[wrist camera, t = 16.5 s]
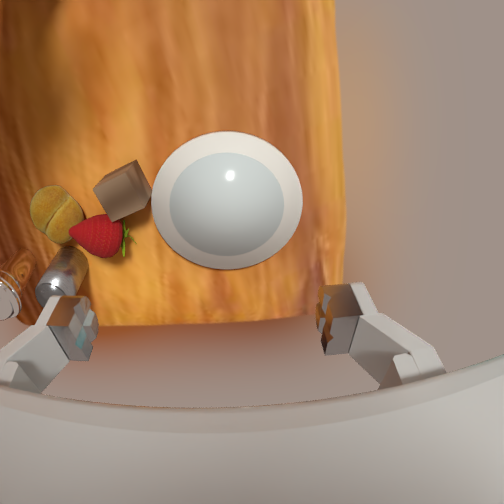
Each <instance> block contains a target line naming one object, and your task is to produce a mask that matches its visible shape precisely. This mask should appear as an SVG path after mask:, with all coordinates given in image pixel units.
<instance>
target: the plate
mask: <svg viewBox="0 0 504 504" xmlns="http://www.w3.org/2000/svg"><path fill="white" fill-rule="evenodd" d="M302 205H303V202H302V190H301V185H300V182H299V179H298V177H297V175H296V172H295V170H294V169H293V167H292V165H291V164H290V162H289V161H288V159H287V158H286V157H285V156H284V155H283V154H282V153H281V151H279V150H278V149H277V148H276V147H275V146H273V145H272V144H270V143H269V142H267V141H265V140H264V139H261V138H259V137H257V136H255V135H251V134H248V133H244V132H238V131H217V132H210V133H206V134H203V135H200V136H197V137H195V138H193V139H191V140H189V141H187V142H186V143H184V144H182V145H181V146H180V147H178V148H177V149H176V150H175V151H174V152H173V153H172V154H171V155H170V156H169V157H168V158H167V160H166V161H165V162H164V164H163V165H162V167H161V169H160V171H159V172H158V174H157V176H156V179H155V182H154V185H153V190H152V197H151V206H152V214H153V217H154V221H155V224H156V226H157V228H158V230H159V232H160V234H161V236H162V237H163V238H164V240H165V241H166V242H167V244H168V245H169V246H170V247H171V248H172V249H173V250H175V251H176V252H177V253H178V254H180V255H181V256H183V257H184V258H186V259H188V260H190V261H192V262H194V263H196V264H199V265H202V266H205V267H210V268H215V269H238V268H244V267H248V266H252V265H255V264H257V263H260V262H262V261H264V260H266V259H268V258H269V257H271V256H273V255H274V254H275V253H276V252H278V251H279V250H280V249H281V248H282V247H283V246H284V245H285V244H286V243H287V242H288V241H289V239H290V238H291V237H292V235H293V233H294V232H295V230H296V228H297V225H298V223H299V220H300V217H301V213H302Z"/></svg>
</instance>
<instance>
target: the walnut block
mask: <svg viewBox="0 0 504 504" xmlns="http://www.w3.org/2000/svg"><path fill="white" fill-rule="evenodd" d="M93 191H94V193H95V194H96V196H97V198H98V200H99V201H100V203H101V205H102V206H103V208H104V210H105V212H106V213H107V215H108V217H109V218H110V220H111V222H114V221H116V220H118V219H120V218H123V217H125V216H127V215H129V214H132V213H134V212H136V211H139V210H141V209H143V208H145V206H146V204H147V202H148V200H149V198H150V196H151V195H152V189H151V187H150V185H149V183H148V181H147V179H146V177H145V175H144V174H143V172H142V170H141V168H140V166H139V164H138V162H137V160H135V161H133V162H131V163H128V164H126V165H124V166H122V167H120V168H118V169H116V170H114V171H113V172H111V173H109V174H107V175H105V176H104V177H103V179H102V180H101V181H100V182H99V183H98V184H97V185H96V186H95V187H94V188H93Z"/></svg>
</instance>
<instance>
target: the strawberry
mask: <svg viewBox="0 0 504 504" xmlns="http://www.w3.org/2000/svg"><path fill="white" fill-rule="evenodd" d="M128 231H129V229H127V230H126V229H125V220H123V225H122V223H121V221H120V220H119V219H118V220H116V221H114V222H111V220H110V218H109V217H108V215H107V214H102V215H96V216H93V217H91V218H88V219H86V220H84V221H82V222H80V223H78V224H76V225H75V226H72V227H71V228H70V229H69V231H68V233H69V235H70V236H71V237H72V238H73V239H74V240H75V241H76V242H77V243H78V244H79V245H80V246H82V247H83V248H84V249H85V250H87V251H88V252H89V253H91V254H93V255H96V256H98V257H101V258H108V257H112V256H113V255H115V254H116V253H117V252H118V250H119V248H120V247H122V252H123V257H125V240H124V237H129V236H127V234H128ZM130 237H131V236H130ZM131 238H132V237H131ZM132 240H133V239H132ZM133 241H134V240H133ZM134 242H135V241H134ZM135 243H136V242H135Z"/></svg>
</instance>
